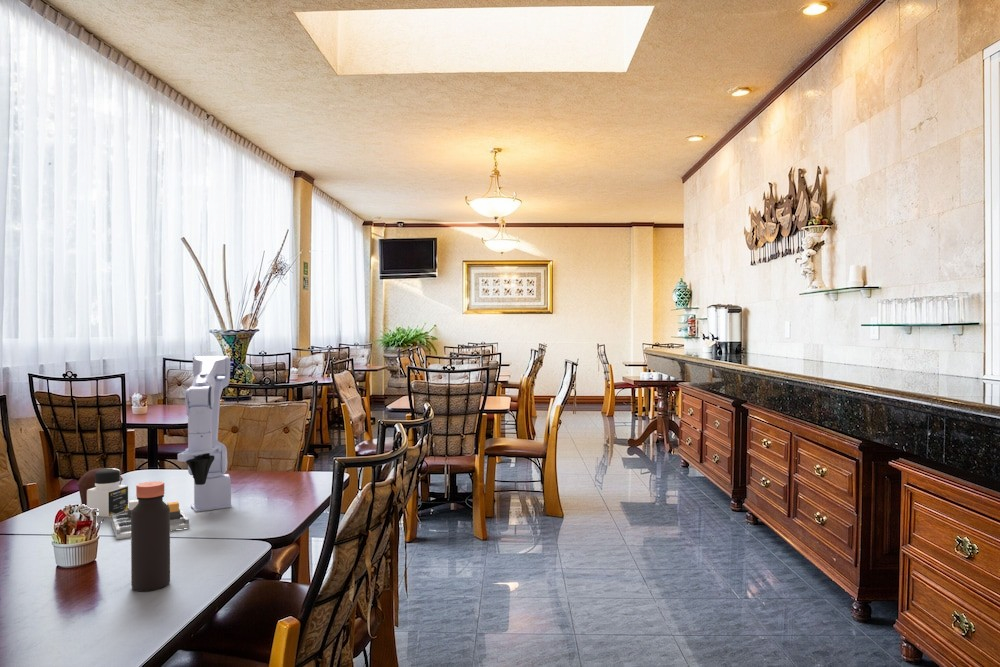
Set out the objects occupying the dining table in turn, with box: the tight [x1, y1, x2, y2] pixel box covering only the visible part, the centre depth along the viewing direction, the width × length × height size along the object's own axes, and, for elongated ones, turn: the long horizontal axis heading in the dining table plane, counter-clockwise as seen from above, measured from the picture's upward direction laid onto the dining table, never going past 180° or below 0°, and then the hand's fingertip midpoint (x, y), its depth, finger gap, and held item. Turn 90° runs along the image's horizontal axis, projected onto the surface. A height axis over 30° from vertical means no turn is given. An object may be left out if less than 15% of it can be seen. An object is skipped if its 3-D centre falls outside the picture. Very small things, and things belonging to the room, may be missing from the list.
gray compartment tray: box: [110, 506, 190, 540], centre depth 175 cm, size 16×18×2 cm
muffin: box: [76, 467, 124, 505], centre depth 196 cm, size 12×11×10 cm
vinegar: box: [130, 480, 171, 592], centre depth 134 cm, size 7×7×20 cm
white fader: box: [126, 499, 138, 518], centre depth 176 cm, size 3×3×4 cm
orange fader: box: [166, 501, 181, 519], centre depth 174 cm, size 3×3×4 cm
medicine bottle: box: [87, 467, 129, 518], centre depth 186 cm, size 7×7×12 cm
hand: (200, 484), depth 178 cm, fingers closed
